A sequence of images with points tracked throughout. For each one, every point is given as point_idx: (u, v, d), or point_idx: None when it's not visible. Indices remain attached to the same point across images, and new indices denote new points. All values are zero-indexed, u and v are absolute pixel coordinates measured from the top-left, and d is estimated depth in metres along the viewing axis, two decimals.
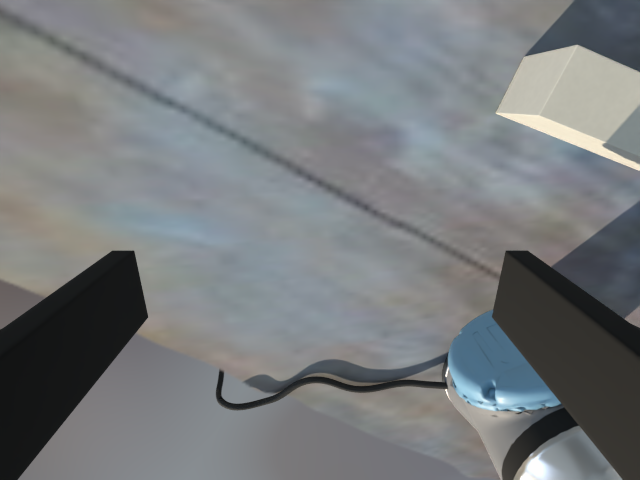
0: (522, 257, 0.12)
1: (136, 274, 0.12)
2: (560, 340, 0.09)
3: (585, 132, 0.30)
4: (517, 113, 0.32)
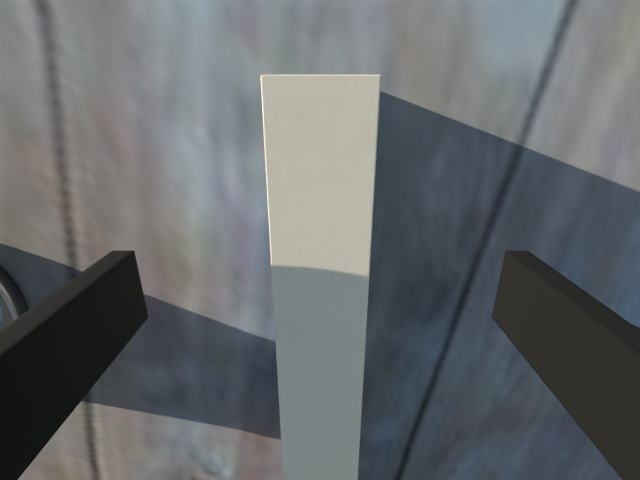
0: (522, 257, 0.12)
1: (136, 274, 0.12)
2: (560, 340, 0.09)
3: (268, 171, 0.18)
4: None
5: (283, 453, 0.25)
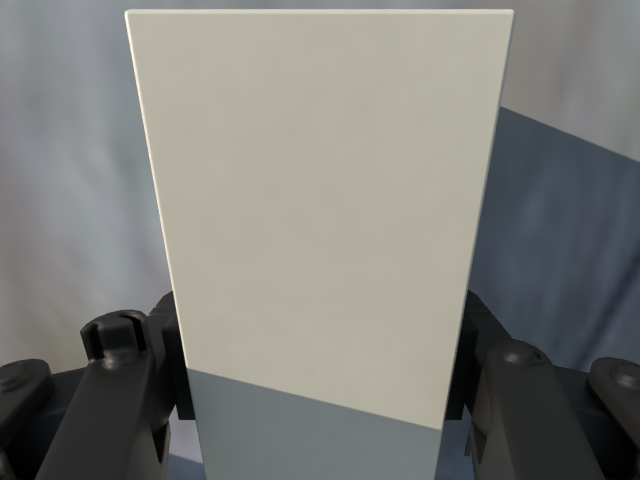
0: None
1: None
2: None
3: (177, 288, 0.07)
4: None
5: None
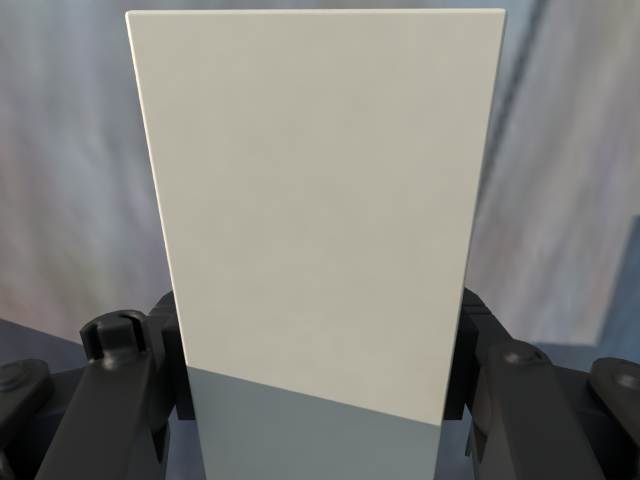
0: None
1: None
2: None
3: (177, 286, 0.07)
4: None
5: None
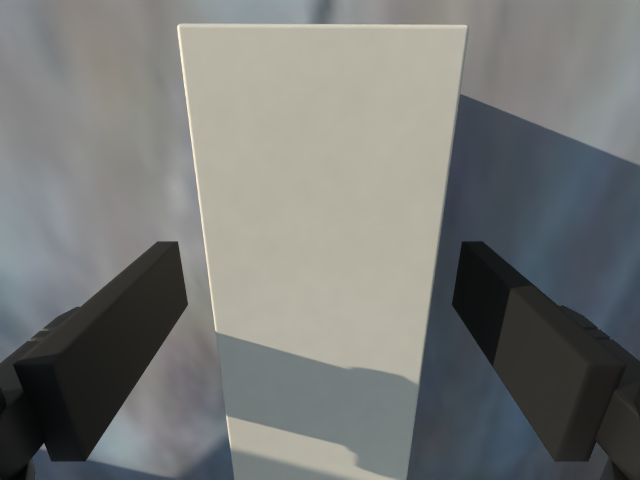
0: (476, 247, 0.12)
1: (179, 264, 0.13)
2: (500, 321, 0.10)
3: (209, 242, 0.08)
4: None
5: None
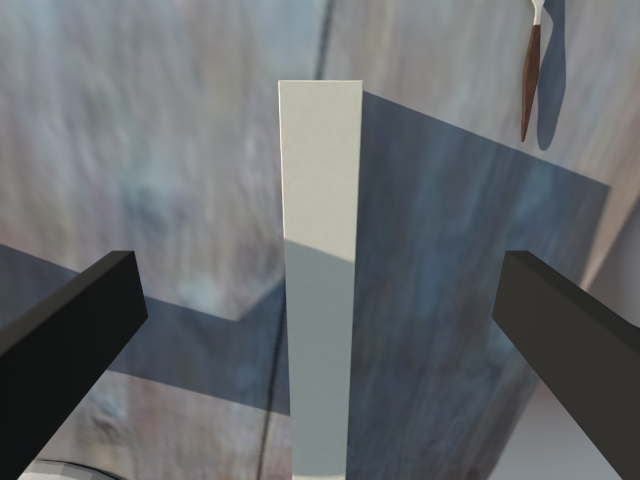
0: (522, 257, 0.12)
1: (136, 274, 0.12)
2: (560, 340, 0.09)
3: (282, 150, 0.25)
4: None
5: (290, 377, 0.32)
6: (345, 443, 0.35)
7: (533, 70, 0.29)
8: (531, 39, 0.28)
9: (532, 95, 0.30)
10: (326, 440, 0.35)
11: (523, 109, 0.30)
